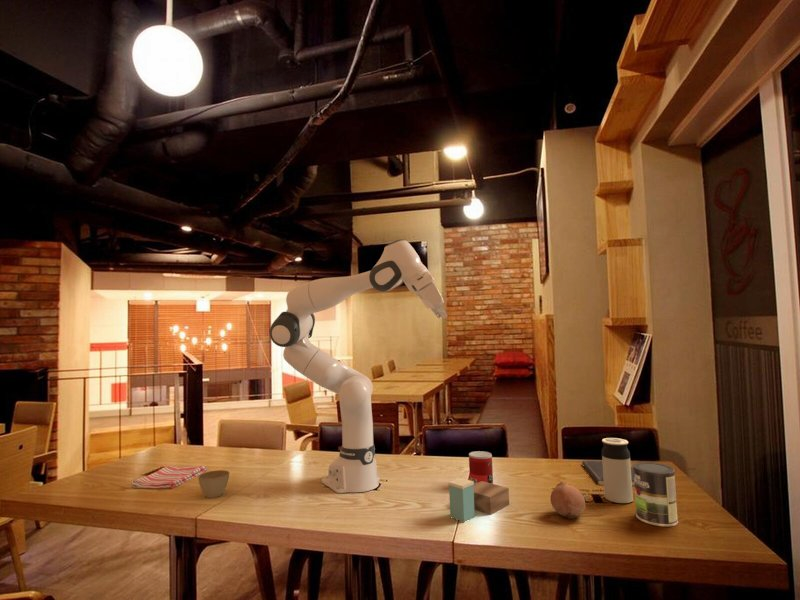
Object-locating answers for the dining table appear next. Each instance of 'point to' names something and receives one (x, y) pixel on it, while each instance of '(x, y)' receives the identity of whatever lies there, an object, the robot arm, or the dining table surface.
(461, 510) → the tea tin
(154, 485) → the dish towel
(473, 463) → the canned food
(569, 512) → the onion
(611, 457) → the travel mug
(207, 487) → the flower pot
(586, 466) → the hardcover book
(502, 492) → the riser block
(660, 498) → the coffee can
